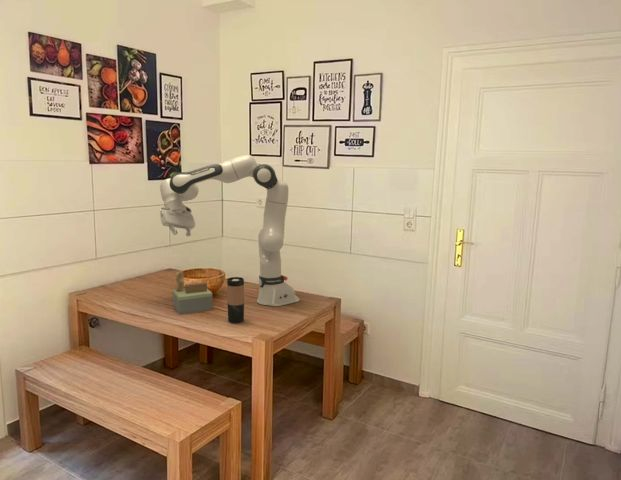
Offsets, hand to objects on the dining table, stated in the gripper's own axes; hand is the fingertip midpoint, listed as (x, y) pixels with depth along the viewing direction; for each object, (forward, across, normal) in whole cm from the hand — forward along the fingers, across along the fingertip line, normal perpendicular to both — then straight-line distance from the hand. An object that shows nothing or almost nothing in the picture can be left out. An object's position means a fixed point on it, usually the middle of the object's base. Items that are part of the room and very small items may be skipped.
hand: (182, 235), depth 229 cm
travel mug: (+49, +6, -11) cm, 50 cm away
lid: (+28, +6, +9) cm, 30 cm away
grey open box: (+34, +7, +12) cm, 37 cm away
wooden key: (+31, +5, +18) cm, 36 cm away
